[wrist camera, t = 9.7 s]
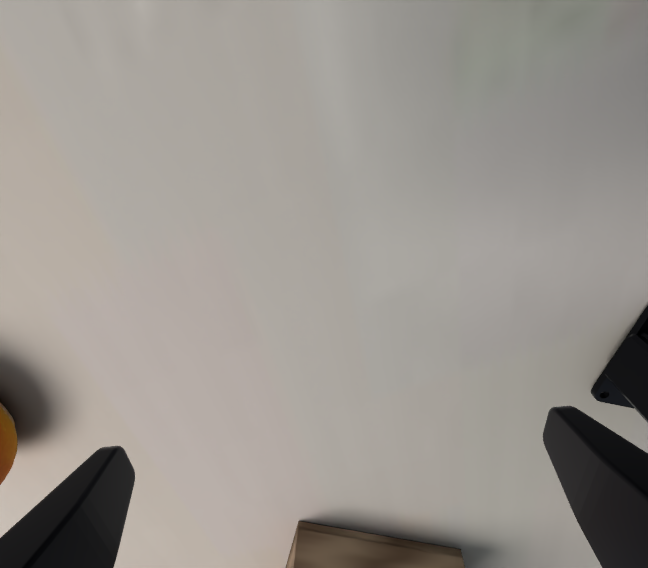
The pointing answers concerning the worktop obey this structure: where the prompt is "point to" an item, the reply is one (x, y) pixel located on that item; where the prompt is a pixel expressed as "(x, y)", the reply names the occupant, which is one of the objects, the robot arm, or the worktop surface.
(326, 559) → the tray
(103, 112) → the worktop surface
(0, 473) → the fruit
